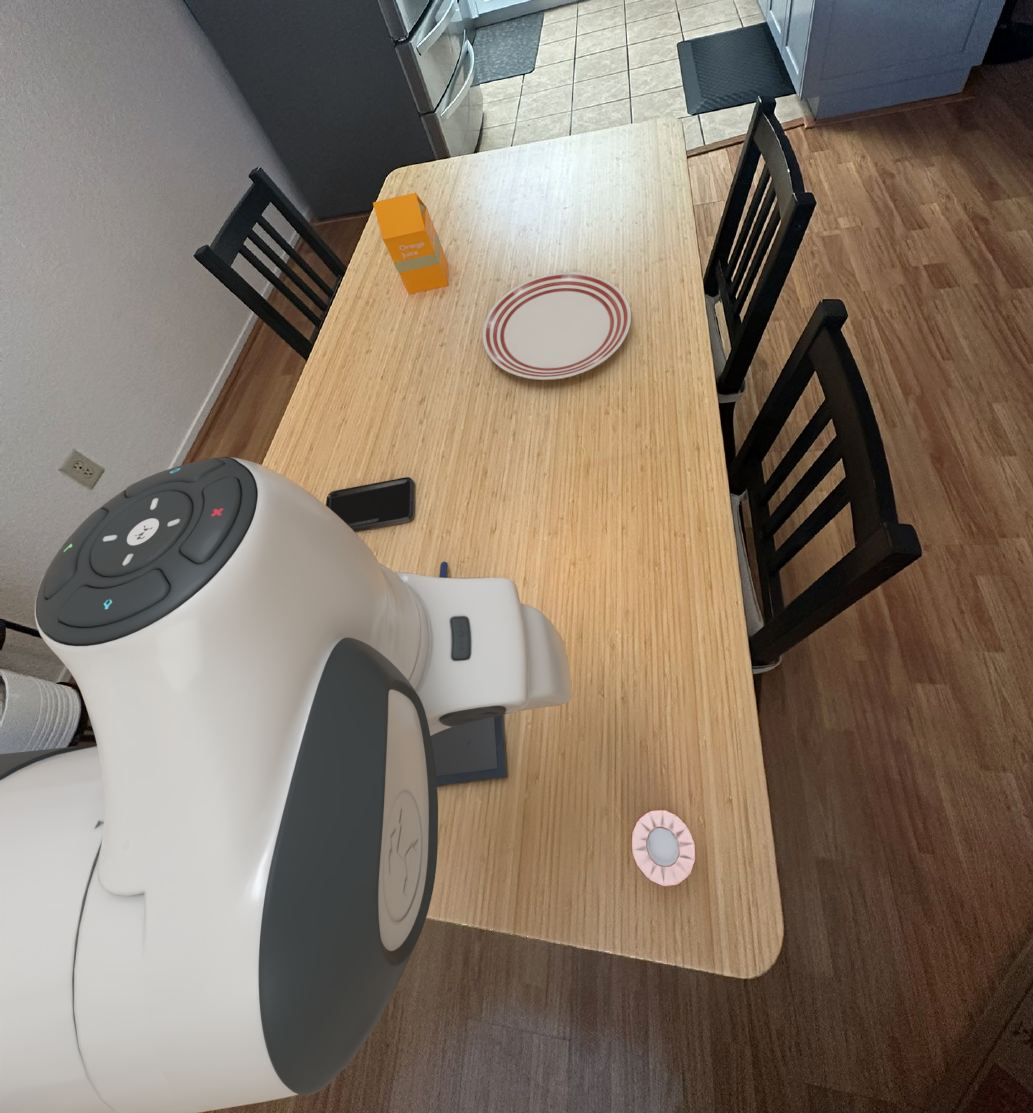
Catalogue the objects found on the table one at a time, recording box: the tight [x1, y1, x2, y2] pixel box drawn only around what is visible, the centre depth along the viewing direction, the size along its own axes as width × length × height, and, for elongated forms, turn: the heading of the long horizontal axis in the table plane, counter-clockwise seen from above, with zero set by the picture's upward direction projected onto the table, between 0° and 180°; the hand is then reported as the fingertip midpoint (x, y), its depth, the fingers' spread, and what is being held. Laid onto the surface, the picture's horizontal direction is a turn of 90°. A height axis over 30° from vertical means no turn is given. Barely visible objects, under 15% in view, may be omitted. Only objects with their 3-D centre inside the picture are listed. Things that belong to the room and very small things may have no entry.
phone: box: [325, 476, 416, 533], centre depth 94 cm, size 8×1×15 cm
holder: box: [630, 808, 697, 888], centre depth 57 cm, size 6×6×13 cm
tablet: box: [431, 714, 509, 788], centre depth 77 cm, size 24×17×1 cm
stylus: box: [438, 561, 449, 578], centre depth 80 cm, size 1×1×18 cm
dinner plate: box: [481, 271, 632, 381], centre depth 107 cm, size 28×27×3 cm
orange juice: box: [372, 192, 449, 295], centre depth 118 cm, size 8×9×20 cm
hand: (441, 711), depth 41 cm, fingers open, 8 cm apart
